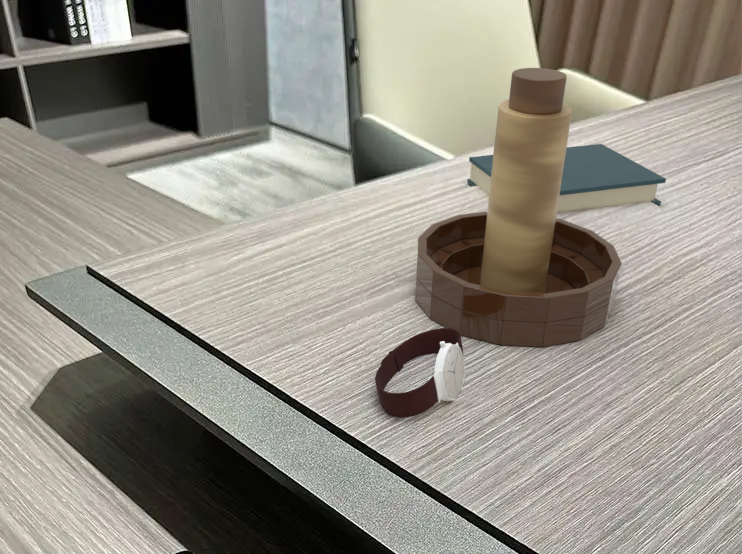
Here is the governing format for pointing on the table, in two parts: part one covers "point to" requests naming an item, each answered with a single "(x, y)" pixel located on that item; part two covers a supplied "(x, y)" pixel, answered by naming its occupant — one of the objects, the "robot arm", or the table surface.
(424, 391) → the watch
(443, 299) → the bowl
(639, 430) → the table surface
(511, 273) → the pepper mill
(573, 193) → the book
